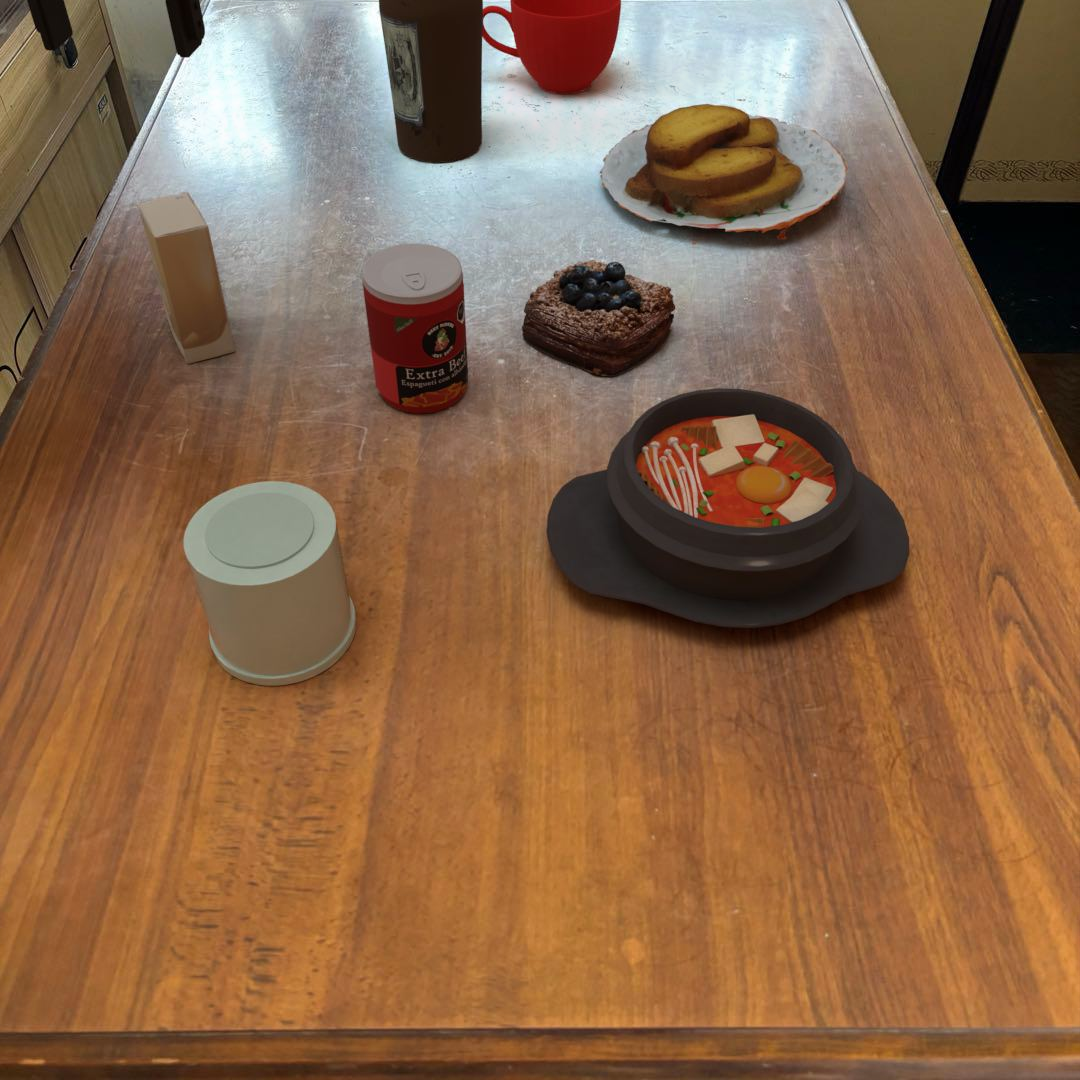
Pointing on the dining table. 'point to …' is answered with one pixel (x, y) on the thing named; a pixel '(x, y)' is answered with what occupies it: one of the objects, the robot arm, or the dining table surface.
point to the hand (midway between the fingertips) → (125, 46)
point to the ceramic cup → (561, 40)
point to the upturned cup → (271, 582)
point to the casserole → (728, 514)
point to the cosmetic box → (187, 276)
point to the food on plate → (723, 170)
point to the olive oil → (435, 75)
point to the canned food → (416, 326)
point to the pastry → (598, 318)
